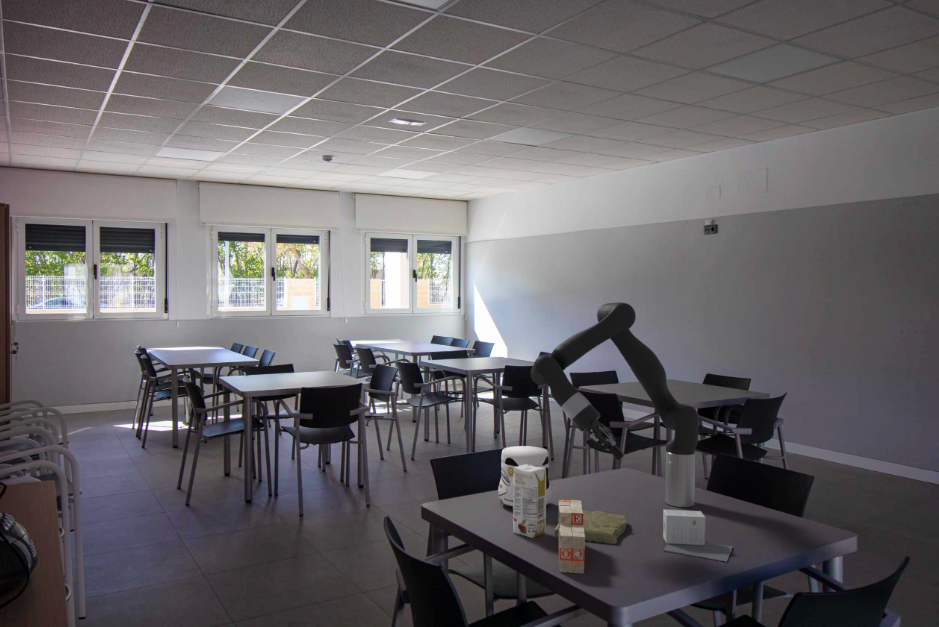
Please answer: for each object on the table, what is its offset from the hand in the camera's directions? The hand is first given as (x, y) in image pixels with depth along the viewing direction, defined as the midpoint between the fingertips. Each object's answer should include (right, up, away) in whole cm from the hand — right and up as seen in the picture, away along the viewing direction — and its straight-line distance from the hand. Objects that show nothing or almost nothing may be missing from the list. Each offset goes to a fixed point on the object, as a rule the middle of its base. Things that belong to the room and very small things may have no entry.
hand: (621, 457), depth 192 cm
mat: (+19, -23, -10) cm, 31 cm away
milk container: (-25, -22, +29) cm, 44 cm away
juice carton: (-26, -22, +2) cm, 34 cm away
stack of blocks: (-17, -23, -16) cm, 33 cm away
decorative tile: (-7, -23, +5) cm, 25 cm away
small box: (+11, -18, -4) cm, 22 cm away
